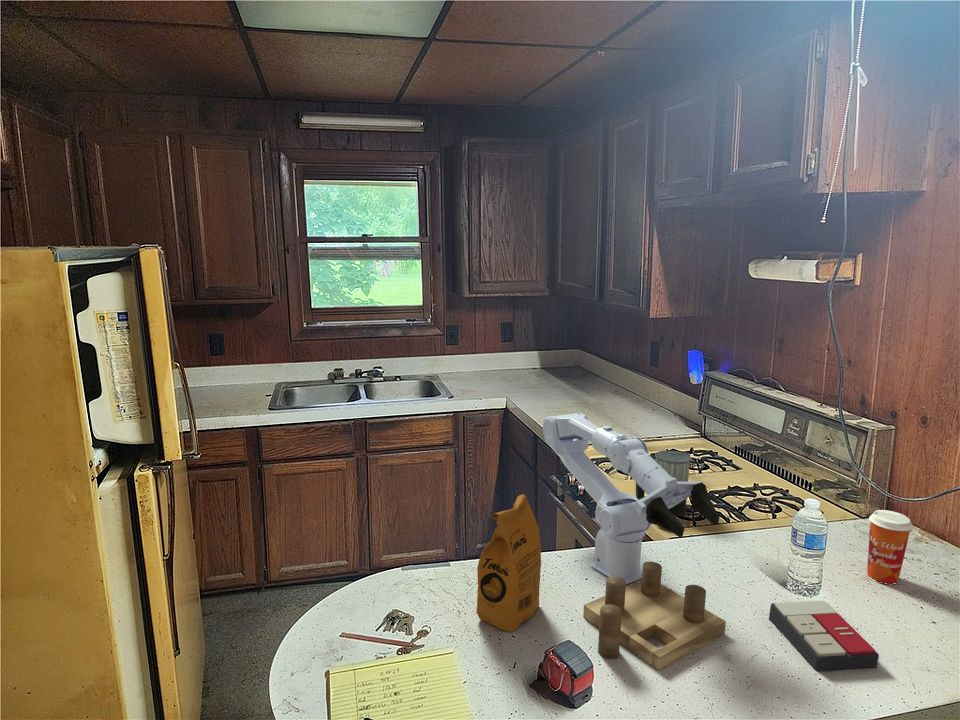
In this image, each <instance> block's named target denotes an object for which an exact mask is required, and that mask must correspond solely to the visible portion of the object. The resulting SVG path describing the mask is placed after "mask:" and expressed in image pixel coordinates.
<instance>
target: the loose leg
mask: <svg viewBox="0 0 960 720" xmlns="http://www.w3.org/2000/svg"><path fill="white" fill-rule="evenodd" d="M621 616H622V611H621V609H620V608H619V607H617V606H615V605H603V606H602V607H601V608H600V624H599V628H598V643H597V644H598V645H597V646H598V647H597V648H598V649H597V653H598V654H599V656H601V657H602V658H604V659H608V660H614V659H617V658H618V657H619V655H620V646H621V643H620V632H621Z"/></svg>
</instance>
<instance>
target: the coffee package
mask: <svg viewBox="0 0 960 720" xmlns="http://www.w3.org/2000/svg"><path fill="white" fill-rule="evenodd" d="M491 519H492V520H496V524H497V526H496V528H494V531H493V532H492V533H493V534H492V536H491V539H490V541H488V542H487V543H486V545H485V547H484V548H483V550H482V551H481V553H480V556H479V559H478V563H477V567H476V568H477V569H476V570H477V573H476V574H477V596H476V611H475V612H476V615H477V616H478V617H477V618H478V619H479V620H480V621H481V622H485V623H487V624H489V625H491V626H493V625H494V626H495V627H497V629H499V630H500V631H505V632H509V631H510V633H513V632H516V630H517V629H518V628H519V626H521V624H522V623H523V622H524V621H528V620H530V619H531V618H532V617H533V615H534V614H535V612H536V611H537V608H538V607H539V606H540V583H541V569H542V553H541V552H542V547H541V544H542V543H541V536H540V535H541V534H540V527H539V525H538V523H537V522H538V521H537V519H536V517H535V516H534V513H533V510H532V508H531V506H530V503H529V501H528V499H527V496H526V495H525V494H519V495H518V496H517V497H516V500H515V502H514V504H513V508H510V509H507V510H502V511H499V512H495V513H493V514H492V515H491Z"/></svg>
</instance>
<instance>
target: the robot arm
mask: <svg viewBox="0 0 960 720" xmlns="http://www.w3.org/2000/svg"><path fill="white" fill-rule="evenodd" d="M542 433H543V437H544V441H545V442H546V443H547V445H548V446H549V447H550V448H551V449H552V451H553V452H554V453H555V454H557V456H558V457H559V458H560V460H561V463H563V464H564V466H565V467H566V469H567V470H568V471H569V472H570V473H571V474H572V475H573V477H574V479H576V480H577V482H578V483H579V484H580V485H581V486H582V487H583V489H584V490H585V491H586V492H587V493H588V494H589V496H590V497H591V498H592V499H593V500H594V501H595V503H596V508H595V519H596V520H597V521H598V523H599V525H600V529H599V530H598V532H597V534H596V537H595V540H594V541H595V543H594V544H595V545H594V547H595V548H594V561H593V563H592V564H591V567H592V569H594V570H596V571H598V572H599V573H601V574H603V575H604V576H605V577H607V578H608V577H612V576H616V577H620V578H622V579H624V580H625V581H626V586H628V585H630V584H633V583H635V582H637V581H640V580H642V570H643V568H641V559H642V543H643V537H645V536H646V531H648V530H649V529H651V527H652V525H654V526H658V527H661V528H663V529H665V530H667V531H668V532H671V533H672V534H673V535H675V536H677V537H678V538H683V537H684V531H685V527H684V526H683V525H682V524H683V523H682V524H681V523H680V522H679V521H678V520H677V518H678V517H677V516H676V517H677V518H676V517H675V516H674V515H673V514H672V513H671V512H670V510H669V509H670V508H672V507H674V506H675V505H677V504H678V503H680V502H682V501H683V500H685V499H686V498H687V499H688V498H689V499H690V501H691V507H690V509H691V510H693V511H695V512H697V513H699V514H701V515H702V517H704V518H705V519H706V520H707V521H708V522H710V523H711V524H712V525H714V526H716V525H719V520H720V517H721V516H720V515H719V513H718V512H717V510H716V508H715V506H714V504H713V502H712V501H711V498H710V495H709V493H708V489H707V486H706V484H705V483H704V482H702V481H701V480H698V481H697V480H696V481H688V482H678V481H677V479H676V478H675V477H673V478H672V477H671V476H670V475H669V474H668V473H667V472H666V471H665V470H664V469H663V468H662V467H661V466H660V465H659V464H658V463H657V462H656V461H655V460H654V458H653V457H652V456H651V455H650V454H649V449H648V446H647V444H646V442H645V441H644V440H643V439H641V438H640V437H639V436H636V437H632V438H629V437H627V436H626V434H623V433H619V432H618V431H615V430H613V427H612V426H610V425H604V426H603V427H602V426H601V427H598V426H597V425H596V424H593V422H591V421H590V420H589V418H588V416H587V414H583V413H582V412H576V413H569V414H560V415H553V416H552V415H547V416H545V418H544V420H543V422H542ZM589 442H590V443H591V445H592V448H593V449H594V450H595V451H596V452H597V453H599V454H601V455H603V456H605V457H606V458H608V459H609V460H610V463H611V464H612V465H611V466H612V468H613V469H615V470H616V471H622V472H623V473H624V474H626V475H628V476H629V477H630V478H631V479H632V480H633V482H635V484H636V483H637V484H638V485H639V486H640V487H641V488H642V489H643V490H644V491H645V494H646V495H645V496H644V498H642V499H640V500H638V499H637V498H636V495H634V494H630V493H627V492H624V491H620V490H619V489H618V488H617V487H616V486H615V485H614V484H613V483H612V482H611V480H610V479H609V478H608V477H607V476H606V475H605V474H604V473H603V472H602V470H601V469H600V468H599V467H598V466H597V465H596V464H595V463H594V462H593V460H591V458H589V456H588V455H587V454H586V453H585V452H586V450H588V448H589ZM687 499H686V500H687Z"/></svg>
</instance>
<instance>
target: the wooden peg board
mask: <svg viewBox="0 0 960 720" xmlns="http://www.w3.org/2000/svg"><path fill="white" fill-rule="evenodd" d="M642 569H643V570H642V578H641V579H639V580H637V581H635V582H632V583H630V584H628V585H626V581H625V580H624V579H622V578H620V577H616V576H612V577H607V578H606V579H605V594H604V595H603V596H601V597H599V598H597V599H594V600H592V601H590V602H587V603H585V604H583V613H582V614H583V615H582V617H583V618H584V619H585V620H587V621H589V623H591V624H593V625H594V626H596V627H597V628H598V629H599V624H600V608H601V607H602V606H603V605H615V606H617V607H619V608H620V609H621V611H622V616H621V632H620V645H622V646H623V647H625V648H626V649H628V650H629V651H630V652H632V653H634V654H635V655H636V656H637V657H639V658H640V659H642V660H644V661H645V662H646V663H648V664H649V665H650V666H652V667H653V668H654V669H656V670H657V671H661V670H663V669H665V668H666V667H667V666H670V665H671V664H673V663H674V662H676V661H678V660H680V659H682V658H684V657H685V656H687V655H688V654H690V653H692V652H694V651H696V650H698V649H699V648H701V647H703V646H705V645H707V644H708V643H710V642H712V641H714V640H715V639H717V638H720V637H721V636H722V635H724V634H725V632H726V623H727V621H726V620H724V619H723V618H722V617H719V616H718V615H717V614H714V613H712V612H710V611H709V610H708V609H706V608H705V607H706V600H707V598H706V597H707V591H706V589H705V588H704V587H703V586H701V585H697V584H687V585H686V586H685V588H684V596H683V595H681V594H679V593H677V592H676V591H674V590H672V589H671V588H669V587H667V586H665V585H663V584H662V571H663V567H662V565H661V564H660V563H658V562H655V561H645V562H643V564H642ZM653 638H656V639H657V640H659V641H660V642H662V643H663V644H664V645H663V646H661V647H659V648H658V647H656V646H655V645H654V644H652V643H650V642H649V641H648V640H650V639H653Z"/></svg>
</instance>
